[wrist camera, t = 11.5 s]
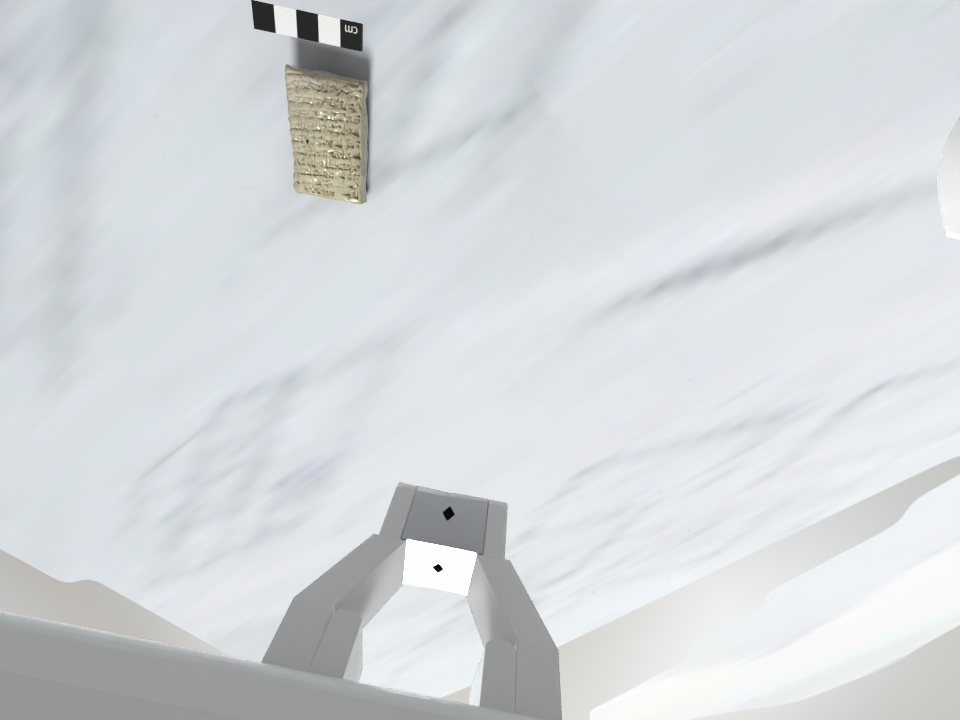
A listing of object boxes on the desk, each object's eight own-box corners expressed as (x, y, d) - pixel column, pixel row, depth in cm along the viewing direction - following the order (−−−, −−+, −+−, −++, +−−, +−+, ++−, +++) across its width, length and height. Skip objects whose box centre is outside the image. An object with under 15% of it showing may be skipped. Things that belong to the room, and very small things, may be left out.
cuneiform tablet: (362, 23, 26) (359, 215, 32) (382, 34, 29) (376, 203, 36) (251, -1, 25) (271, 197, 32) (285, 13, 29) (297, 187, 36)
